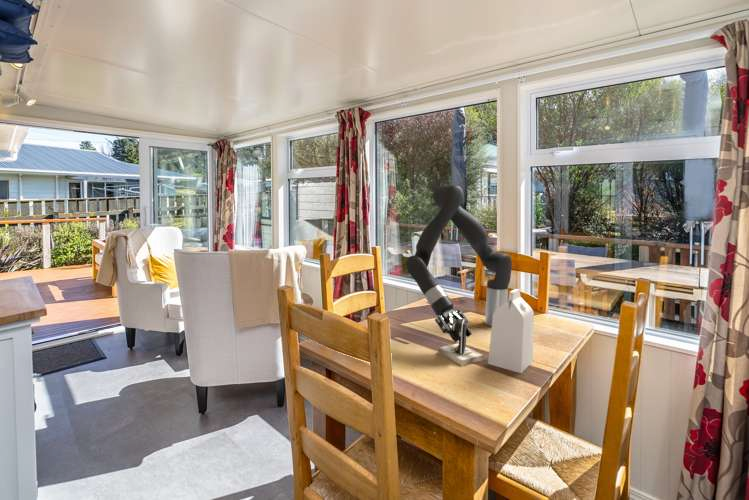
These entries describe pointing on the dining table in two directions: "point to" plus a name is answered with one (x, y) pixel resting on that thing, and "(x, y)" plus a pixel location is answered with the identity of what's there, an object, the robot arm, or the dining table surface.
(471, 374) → the dining table surface
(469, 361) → the board
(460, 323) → the dark upright piece
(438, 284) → the robot arm
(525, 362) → the milk
